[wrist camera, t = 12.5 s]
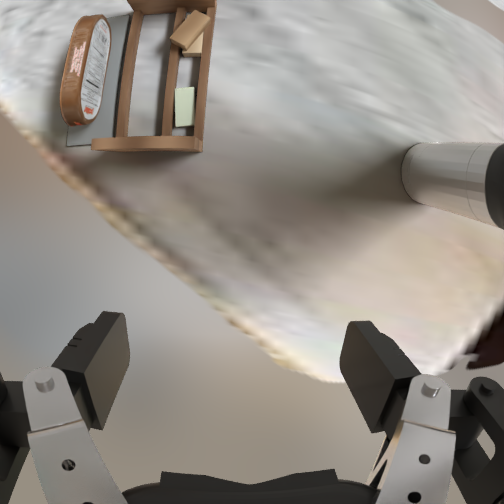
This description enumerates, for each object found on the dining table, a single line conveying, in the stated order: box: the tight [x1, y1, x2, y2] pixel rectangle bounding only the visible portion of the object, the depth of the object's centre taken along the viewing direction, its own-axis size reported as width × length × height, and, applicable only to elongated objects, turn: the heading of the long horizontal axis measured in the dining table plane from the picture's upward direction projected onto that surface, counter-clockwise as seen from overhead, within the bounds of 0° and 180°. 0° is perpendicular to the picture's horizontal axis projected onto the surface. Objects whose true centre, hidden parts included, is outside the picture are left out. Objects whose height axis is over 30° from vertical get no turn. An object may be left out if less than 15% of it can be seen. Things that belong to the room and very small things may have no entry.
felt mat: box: [67, 15, 130, 146], centre depth 32 cm, size 7×19×1 cm, turn 176°
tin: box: [60, 15, 112, 127], centre depth 28 cm, size 15×3×8 cm, turn 175°
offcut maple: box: [182, 14, 206, 57], centre depth 32 cm, size 2×6×2 cm, turn 177°
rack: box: [91, 0, 217, 152], centre depth 29 cm, size 11×21×9 cm, turn 176°
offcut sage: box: [175, 87, 195, 127], centre depth 35 cm, size 2×5×1 cm, turn 2°
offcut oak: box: [170, 10, 211, 51], centre depth 30 cm, size 2×5×2 cm, turn 145°
